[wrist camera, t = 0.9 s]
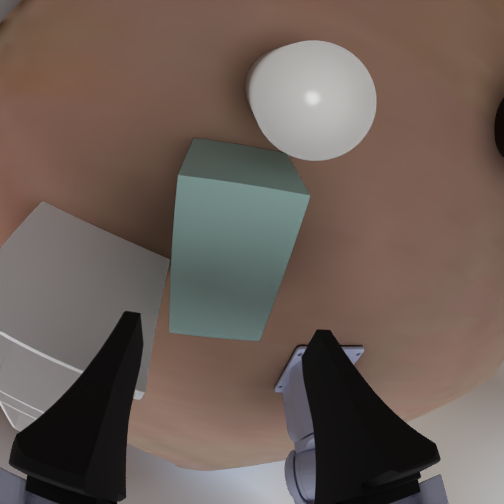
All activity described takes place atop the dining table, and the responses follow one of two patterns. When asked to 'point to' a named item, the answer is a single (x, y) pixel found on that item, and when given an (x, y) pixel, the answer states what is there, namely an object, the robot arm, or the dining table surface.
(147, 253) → the storage container
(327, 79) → the white domed capsule
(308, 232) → the dining table surface
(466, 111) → the dining table surface
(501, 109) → the coffee mug
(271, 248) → the green tapered block
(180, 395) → the dining table surface
